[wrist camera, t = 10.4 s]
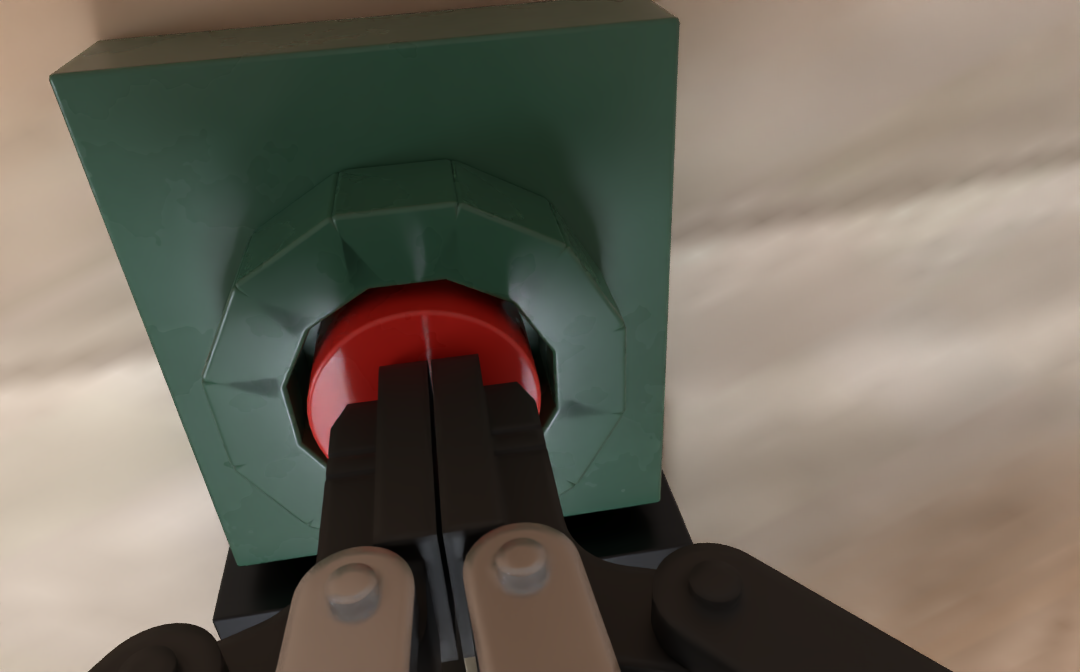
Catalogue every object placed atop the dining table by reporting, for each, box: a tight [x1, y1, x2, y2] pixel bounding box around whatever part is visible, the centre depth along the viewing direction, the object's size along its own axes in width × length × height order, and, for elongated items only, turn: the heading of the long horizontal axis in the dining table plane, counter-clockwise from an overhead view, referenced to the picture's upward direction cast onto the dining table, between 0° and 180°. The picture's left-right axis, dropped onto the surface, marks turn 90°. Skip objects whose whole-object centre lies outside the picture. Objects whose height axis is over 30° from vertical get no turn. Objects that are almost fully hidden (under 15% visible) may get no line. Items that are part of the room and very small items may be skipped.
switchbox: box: [49, 0, 680, 567], centre depth 14 cm, size 10×9×4 cm
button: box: [307, 279, 541, 458], centre depth 13 cm, size 4×4×2 cm
